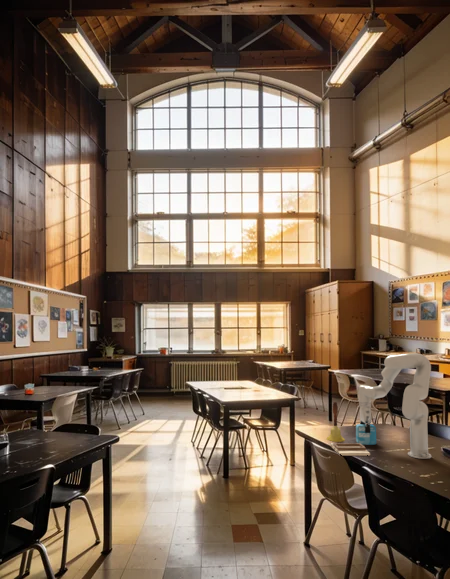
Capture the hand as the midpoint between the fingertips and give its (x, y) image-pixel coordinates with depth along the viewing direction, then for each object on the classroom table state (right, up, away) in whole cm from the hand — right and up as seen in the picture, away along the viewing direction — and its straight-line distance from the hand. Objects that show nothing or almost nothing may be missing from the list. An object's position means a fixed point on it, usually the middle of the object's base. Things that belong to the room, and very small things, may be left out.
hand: (365, 430), depth 286 cm
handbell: (-17, -9, +9) cm, 21 cm away
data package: (0, -8, -1) cm, 8 cm away
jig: (-15, -6, -17) cm, 24 cm away
